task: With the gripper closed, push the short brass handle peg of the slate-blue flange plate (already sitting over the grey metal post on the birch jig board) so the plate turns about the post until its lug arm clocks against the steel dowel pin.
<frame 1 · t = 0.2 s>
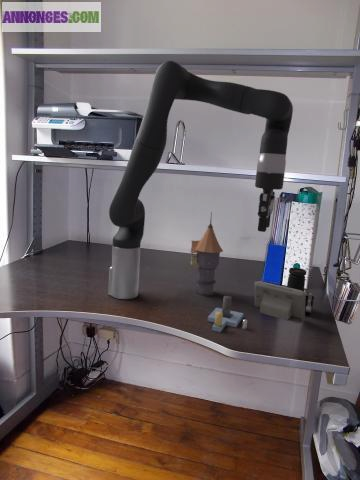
hand: (263, 229, 105), 29 cm above the table, fingers open, 8 cm apart
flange: (223, 314, 106), point 4 cm above the table, hinge at 0.0°
model tower: (202, 297, 130), on the table
dowel: (243, 333, 104), resting on jig board
scope: (295, 311, 123), on the table
digital clock: (276, 317, 117), on the table
jig board: (217, 323, 109), on the table
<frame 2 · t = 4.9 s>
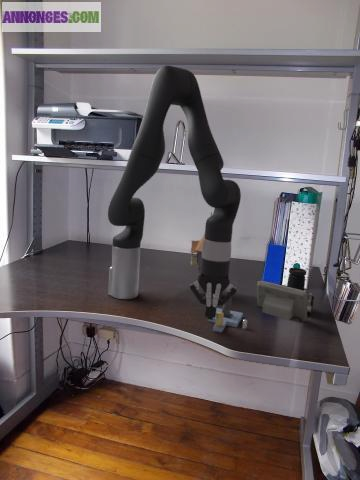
hand: (210, 318, 100), 5 cm above the table, fingers closed
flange: (224, 314, 106), point 4 cm above the table, hinge at 1.8°, touching gripper
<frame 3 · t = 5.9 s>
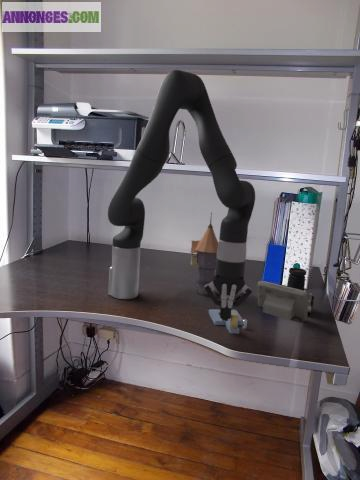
hand: (224, 319, 100), 5 cm above the table, fingers closed
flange: (228, 315, 106), point 4 cm above the table, hinge at 30.4°, touching gripper
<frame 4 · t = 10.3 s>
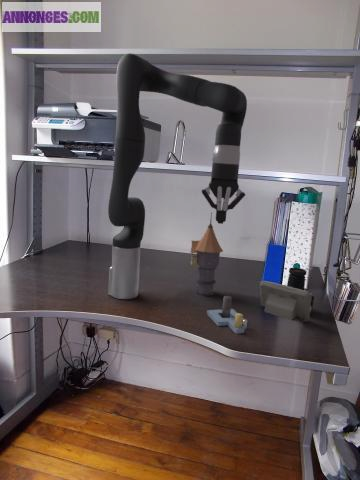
hand: (220, 223, 108), 29 cm above the table, fingers closed
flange: (230, 315, 106), point 4 cm above the table, hinge at 39.5°
at the end: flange at +40° (first picture: +0°); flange touching nothing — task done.
